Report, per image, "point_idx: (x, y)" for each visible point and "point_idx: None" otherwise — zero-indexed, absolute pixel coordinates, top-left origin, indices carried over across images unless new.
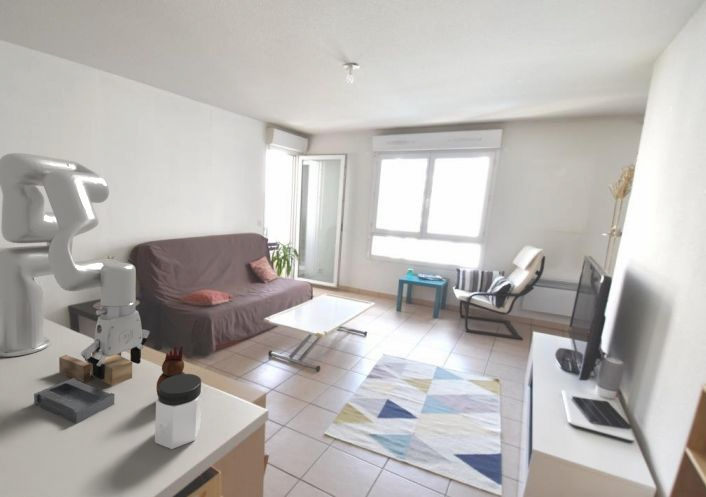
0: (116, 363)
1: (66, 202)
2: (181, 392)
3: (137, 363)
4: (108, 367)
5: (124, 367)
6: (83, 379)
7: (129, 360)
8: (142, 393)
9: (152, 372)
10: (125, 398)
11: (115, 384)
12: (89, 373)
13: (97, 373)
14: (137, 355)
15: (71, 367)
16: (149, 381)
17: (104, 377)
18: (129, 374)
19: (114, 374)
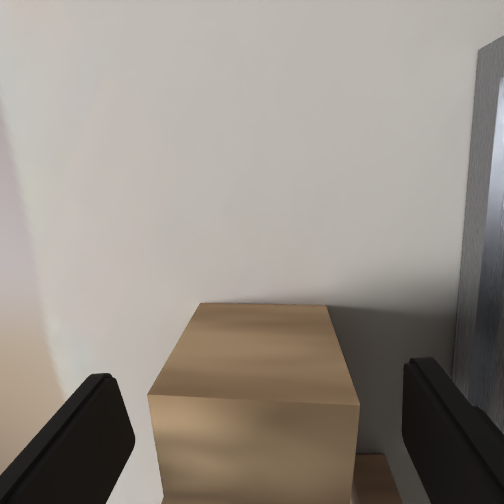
0: (267, 467)
1: None
2: None
3: (113, 379)
4: (352, 458)
5: (235, 372)
6: (390, 472)
7: (155, 433)
8: (266, 28)
9: (82, 267)
10: (381, 66)
11: (305, 305)
12: (363, 498)
13: (499, 431)
14: (58, 452)
15: None
16: (147, 168)
17: (408, 365)
18: (209, 320)
19: (324, 354)
